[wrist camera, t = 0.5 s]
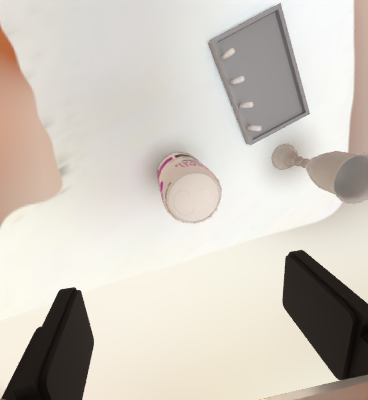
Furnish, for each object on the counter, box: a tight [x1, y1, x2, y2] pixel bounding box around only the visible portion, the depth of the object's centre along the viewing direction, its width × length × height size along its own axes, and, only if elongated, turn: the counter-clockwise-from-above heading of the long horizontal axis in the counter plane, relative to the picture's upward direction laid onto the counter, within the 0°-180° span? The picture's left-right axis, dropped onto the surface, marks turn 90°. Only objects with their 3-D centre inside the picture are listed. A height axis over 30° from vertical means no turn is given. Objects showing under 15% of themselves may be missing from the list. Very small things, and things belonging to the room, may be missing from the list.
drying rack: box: [208, 3, 310, 145], centre depth 40 cm, size 18×12×6 cm, turn 26°
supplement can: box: [157, 152, 221, 223], centre depth 39 cm, size 8×8×15 cm
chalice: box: [272, 144, 368, 204], centre depth 40 cm, size 7×7×18 cm
